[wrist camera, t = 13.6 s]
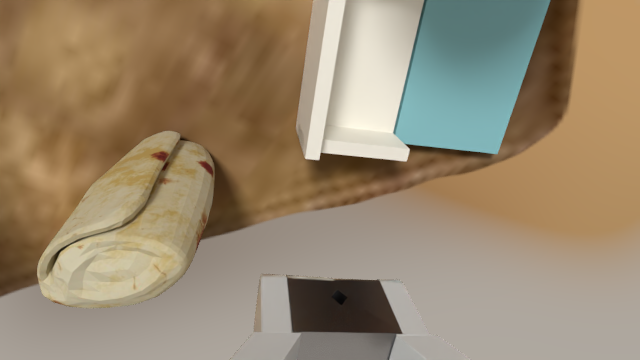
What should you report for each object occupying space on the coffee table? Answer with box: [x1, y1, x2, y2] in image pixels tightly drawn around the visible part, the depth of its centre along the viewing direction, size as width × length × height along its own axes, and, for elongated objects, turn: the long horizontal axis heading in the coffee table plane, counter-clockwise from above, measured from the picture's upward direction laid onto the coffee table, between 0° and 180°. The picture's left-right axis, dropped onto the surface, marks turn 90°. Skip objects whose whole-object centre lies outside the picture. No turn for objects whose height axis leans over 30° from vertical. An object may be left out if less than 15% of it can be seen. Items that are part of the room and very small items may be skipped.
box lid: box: [393, 0, 550, 154], centre depth 40 cm, size 2×17×12 cm
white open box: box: [296, 0, 424, 161], centre depth 35 cm, size 10×17×9 cm, turn 171°
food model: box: [37, 131, 215, 308], centre depth 32 cm, size 10×7×20 cm
